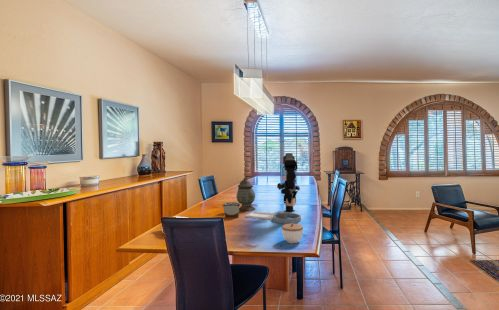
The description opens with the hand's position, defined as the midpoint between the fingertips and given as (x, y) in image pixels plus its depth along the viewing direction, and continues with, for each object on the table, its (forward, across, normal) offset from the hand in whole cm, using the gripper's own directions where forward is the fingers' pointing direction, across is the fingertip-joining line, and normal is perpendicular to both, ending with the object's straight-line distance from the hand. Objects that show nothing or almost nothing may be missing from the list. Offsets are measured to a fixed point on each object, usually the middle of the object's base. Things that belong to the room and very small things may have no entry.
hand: (290, 202), depth 197 cm
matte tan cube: (+2, 0, 0) cm, 2 cm away
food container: (+12, +6, -41) cm, 43 cm away
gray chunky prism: (+11, 0, -6) cm, 13 cm away
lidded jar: (+12, +39, +15) cm, 43 cm away
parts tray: (+12, -3, -22) cm, 25 cm away
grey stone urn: (+12, -18, -43) cm, 48 cm away
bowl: (+12, 0, -3) cm, 12 cm away
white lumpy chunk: (+12, +49, -46) cm, 68 cm away
